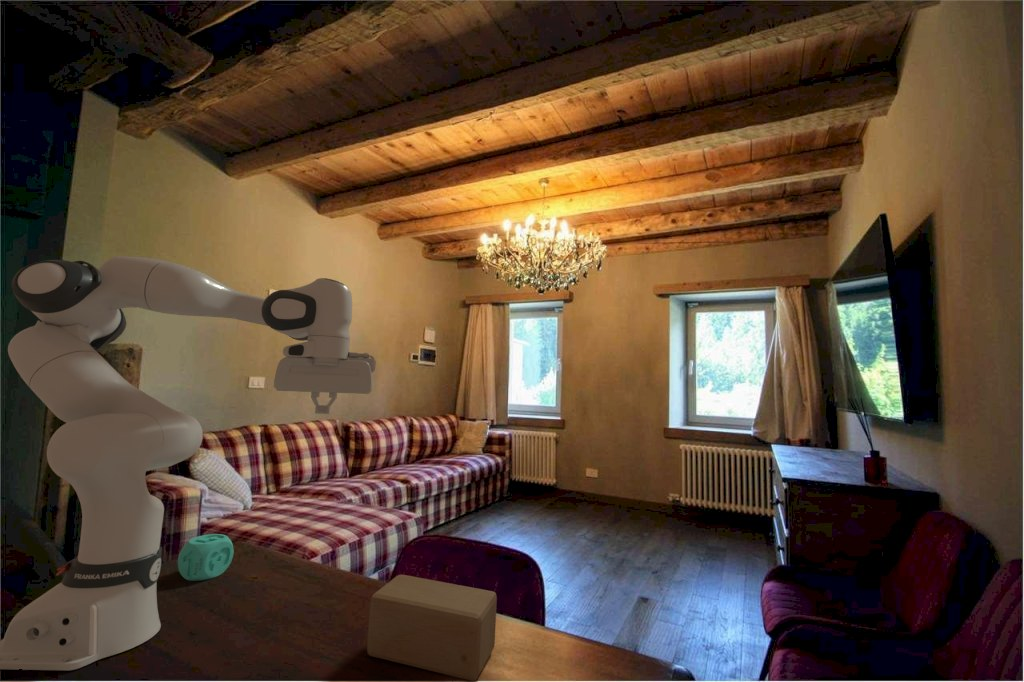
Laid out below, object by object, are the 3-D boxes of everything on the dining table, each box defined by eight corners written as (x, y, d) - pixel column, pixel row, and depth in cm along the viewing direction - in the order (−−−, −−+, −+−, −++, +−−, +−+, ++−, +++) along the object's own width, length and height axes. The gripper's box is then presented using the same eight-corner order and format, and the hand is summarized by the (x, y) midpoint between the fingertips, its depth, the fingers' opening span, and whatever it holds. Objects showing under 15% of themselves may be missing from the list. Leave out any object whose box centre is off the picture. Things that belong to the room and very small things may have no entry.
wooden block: (364, 657, 75) (476, 685, 70) (368, 595, 76) (479, 617, 71) (395, 626, 85) (495, 648, 79) (398, 571, 86) (498, 589, 80)
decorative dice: (174, 578, 104) (179, 541, 104) (206, 565, 111) (210, 532, 112) (201, 583, 101) (205, 546, 102) (232, 570, 109) (236, 536, 110)
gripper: (377, 354, 106) (372, 414, 105) (282, 349, 102) (276, 411, 100) (375, 352, 100) (370, 415, 99) (275, 347, 96) (268, 413, 94)
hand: (322, 413), depth 99 cm, fingers closed
